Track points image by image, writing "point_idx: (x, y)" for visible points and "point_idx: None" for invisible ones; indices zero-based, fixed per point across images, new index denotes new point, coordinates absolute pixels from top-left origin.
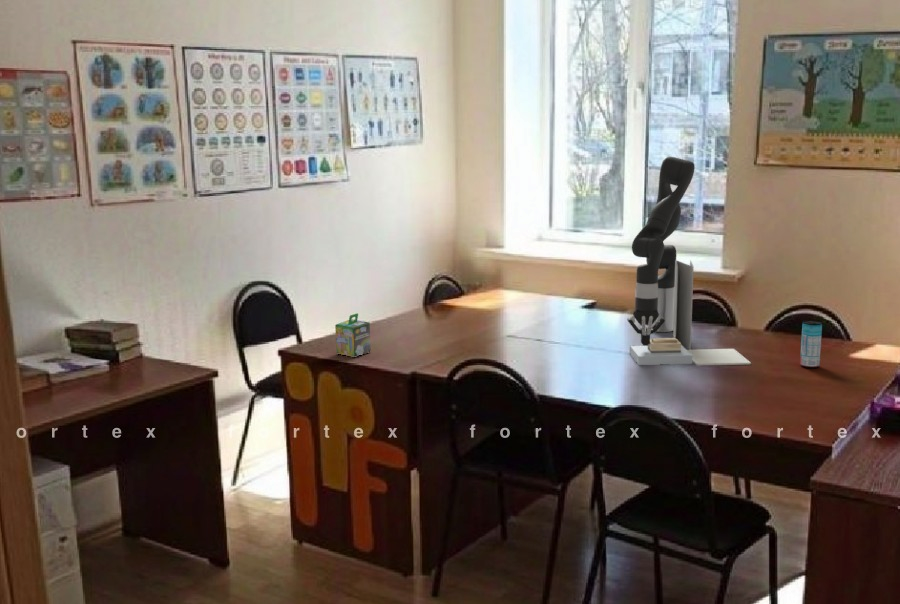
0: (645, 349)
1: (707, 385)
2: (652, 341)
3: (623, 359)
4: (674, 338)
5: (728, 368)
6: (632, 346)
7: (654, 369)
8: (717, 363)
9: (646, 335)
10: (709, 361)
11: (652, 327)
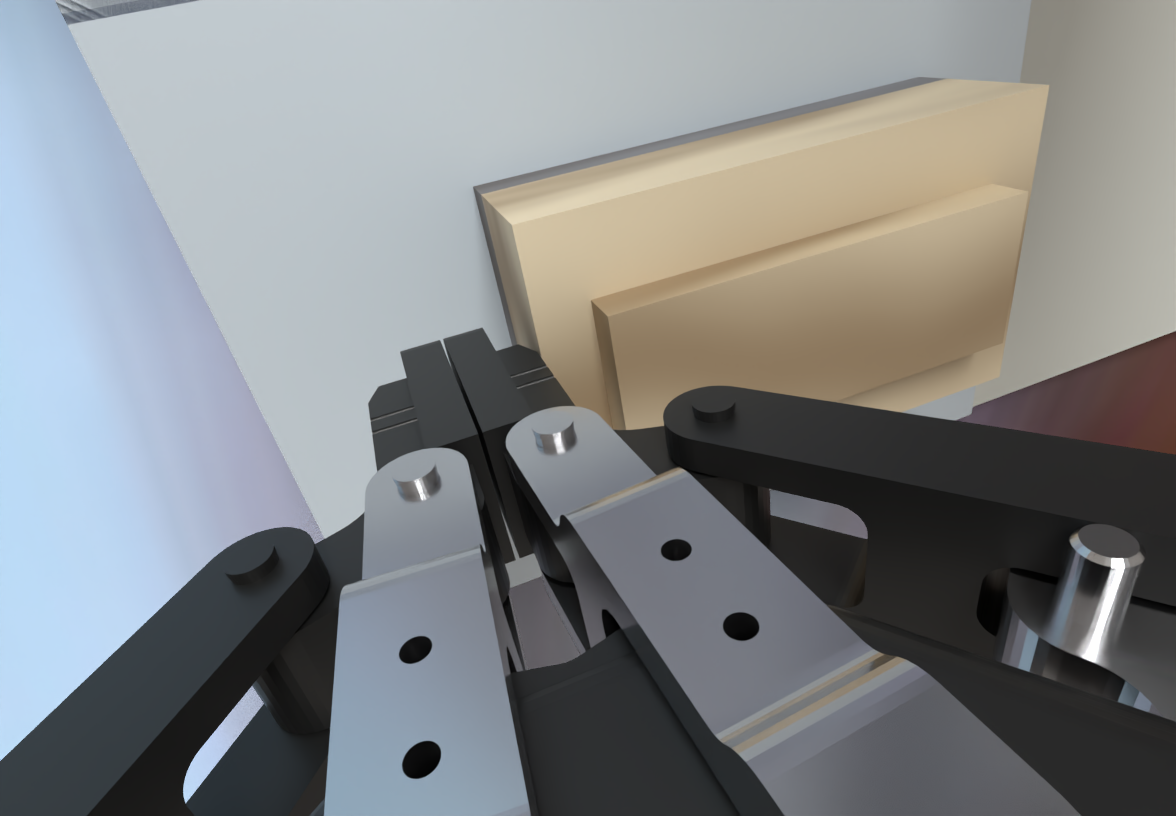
0: (440, 258)
1: None
2: (604, 370)
3: (88, 366)
4: (1005, 239)
5: (1101, 425)
6: (125, 43)
7: (542, 630)
8: (1089, 362)
9: (522, 555)
10: (1060, 316)
11: (748, 463)
